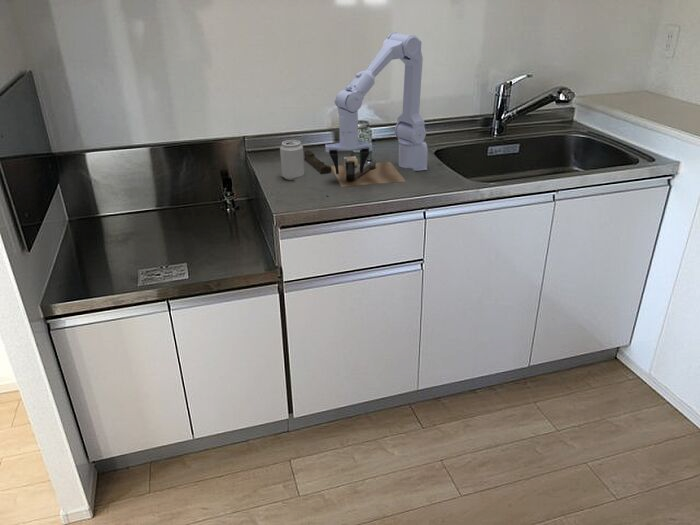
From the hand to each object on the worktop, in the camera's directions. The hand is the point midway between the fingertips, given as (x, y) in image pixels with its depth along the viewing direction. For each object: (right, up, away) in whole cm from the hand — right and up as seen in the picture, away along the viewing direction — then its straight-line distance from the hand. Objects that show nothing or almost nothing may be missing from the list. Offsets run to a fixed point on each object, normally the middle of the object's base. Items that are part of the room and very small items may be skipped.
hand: (349, 172), depth 185 cm
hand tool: (-12, +3, +16) cm, 20 cm away
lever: (+4, +1, +7) cm, 8 cm away
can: (-19, 0, +8) cm, 21 cm away
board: (+6, 0, +8) cm, 10 cm away
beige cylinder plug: (+1, +3, +11) cm, 11 cm away
